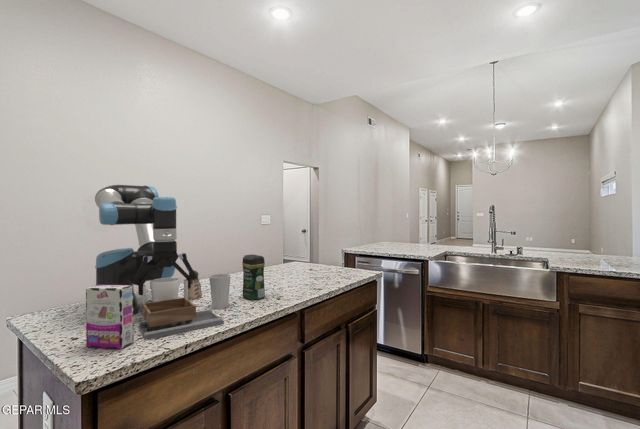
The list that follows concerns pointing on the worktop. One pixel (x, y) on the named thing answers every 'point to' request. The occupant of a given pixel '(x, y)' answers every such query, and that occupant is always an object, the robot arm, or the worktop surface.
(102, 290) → the candy bar box
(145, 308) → the open wooden crate
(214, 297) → the cup
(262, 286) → the coffee jar
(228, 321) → the worktop surface
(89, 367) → the worktop surface
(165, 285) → the foam cup
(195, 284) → the figurine
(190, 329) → the grey metal tray
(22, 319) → the worktop surface
